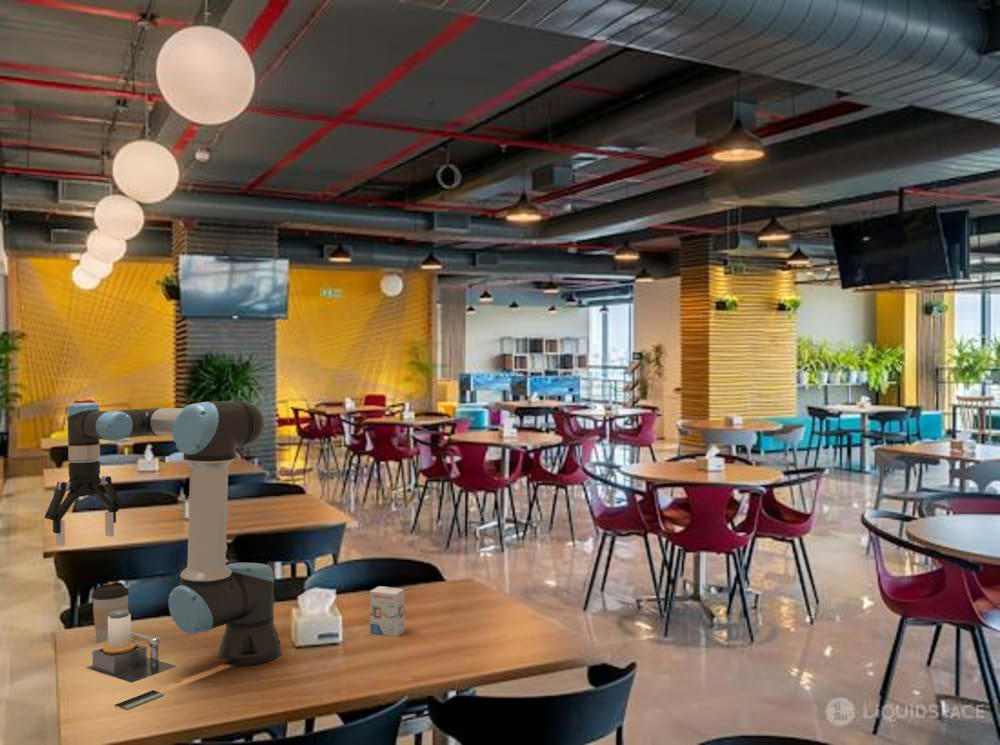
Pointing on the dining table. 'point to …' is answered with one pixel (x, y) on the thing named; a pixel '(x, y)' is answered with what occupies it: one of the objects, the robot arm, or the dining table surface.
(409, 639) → the dining table surface
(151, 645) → the grey metal lever
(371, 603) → the ink box
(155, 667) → the grey open box fixture
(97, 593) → the coffee cup
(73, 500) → the robot arm
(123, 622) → the plug
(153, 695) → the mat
